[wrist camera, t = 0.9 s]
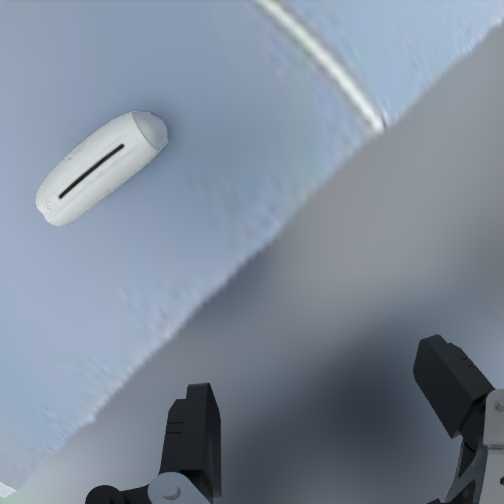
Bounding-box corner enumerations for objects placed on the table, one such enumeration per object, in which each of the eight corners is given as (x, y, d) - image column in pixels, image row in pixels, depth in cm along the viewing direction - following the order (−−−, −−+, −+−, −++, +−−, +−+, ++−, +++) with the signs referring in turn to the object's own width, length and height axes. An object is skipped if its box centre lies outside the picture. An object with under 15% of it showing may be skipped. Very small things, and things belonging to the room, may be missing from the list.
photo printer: (96, 199, 29) (50, 247, 18) (73, 166, 27) (15, 199, 16) (176, 141, 28) (167, 156, 17) (153, 106, 26) (129, 98, 15)
